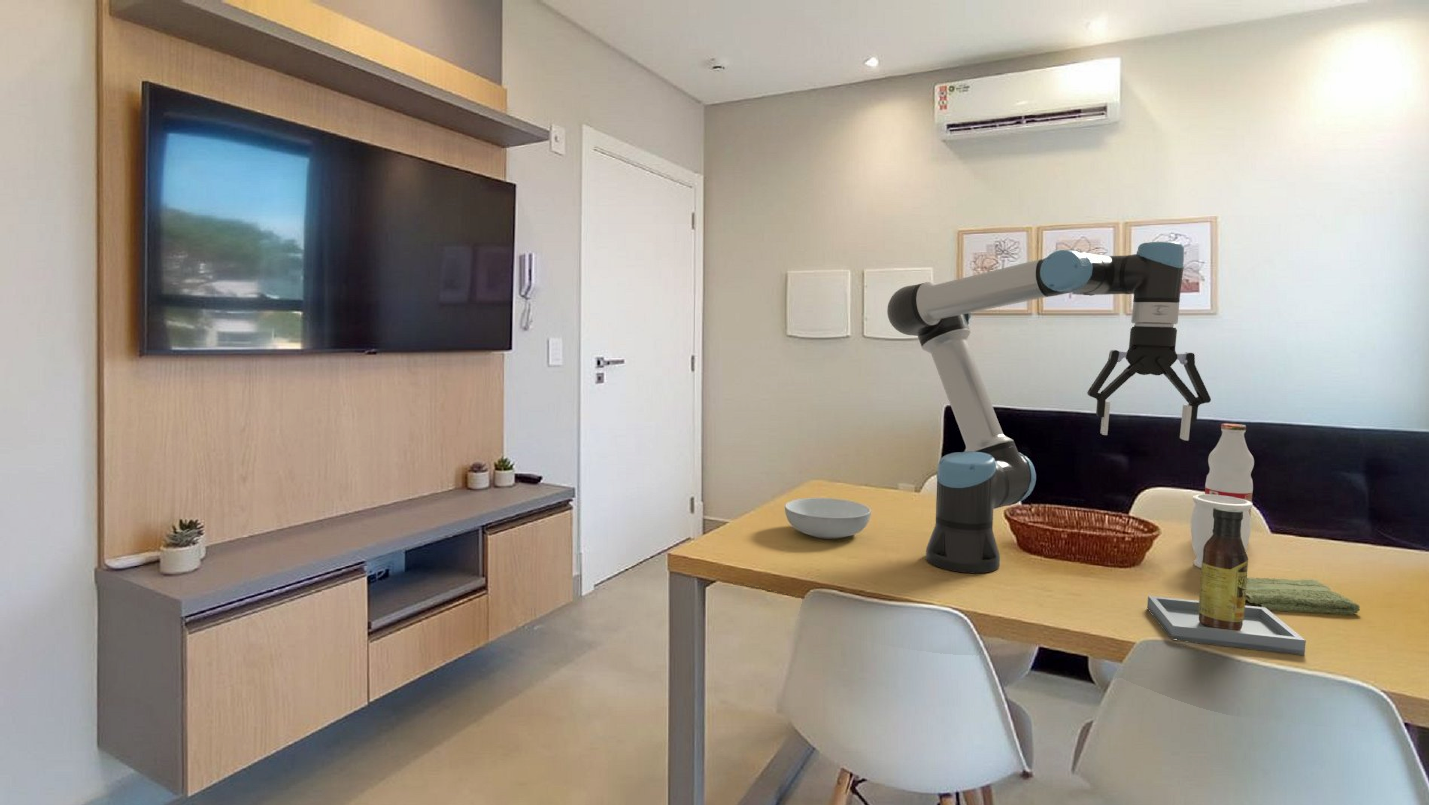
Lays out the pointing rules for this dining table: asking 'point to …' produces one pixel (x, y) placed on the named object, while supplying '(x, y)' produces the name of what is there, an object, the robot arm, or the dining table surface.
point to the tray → (1255, 633)
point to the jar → (1205, 521)
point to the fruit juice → (1231, 465)
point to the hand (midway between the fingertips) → (1143, 436)
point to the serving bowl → (827, 517)
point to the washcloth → (1297, 596)
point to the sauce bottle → (1224, 573)
